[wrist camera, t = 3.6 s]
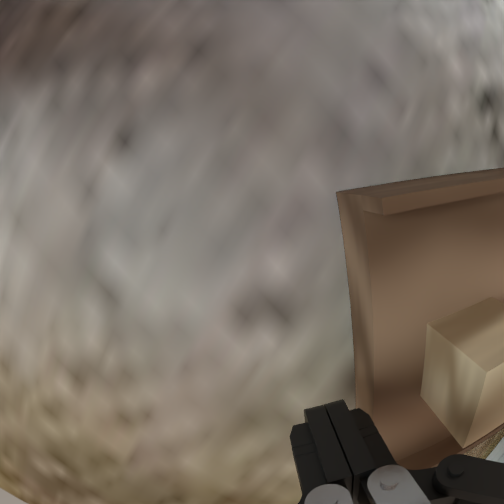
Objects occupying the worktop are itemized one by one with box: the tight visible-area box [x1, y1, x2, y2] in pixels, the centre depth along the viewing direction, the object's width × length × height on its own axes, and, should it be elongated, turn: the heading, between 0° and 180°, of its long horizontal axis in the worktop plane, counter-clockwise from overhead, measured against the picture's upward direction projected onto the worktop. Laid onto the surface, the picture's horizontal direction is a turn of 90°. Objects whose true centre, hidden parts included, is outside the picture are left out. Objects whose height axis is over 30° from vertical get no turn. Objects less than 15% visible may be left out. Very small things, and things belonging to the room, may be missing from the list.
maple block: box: [420, 297, 504, 448], centre depth 10 cm, size 4×4×4 cm
